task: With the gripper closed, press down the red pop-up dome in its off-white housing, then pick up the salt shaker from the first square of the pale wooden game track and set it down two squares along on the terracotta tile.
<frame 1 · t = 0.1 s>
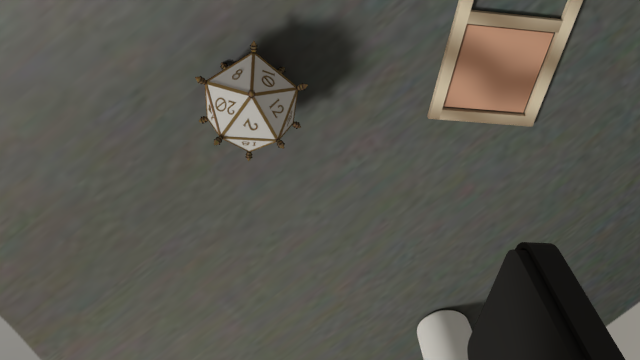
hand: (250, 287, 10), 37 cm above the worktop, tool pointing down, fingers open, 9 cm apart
game die: (252, 80, 48), on the worktop
can: (441, 323, 69), on the worktop
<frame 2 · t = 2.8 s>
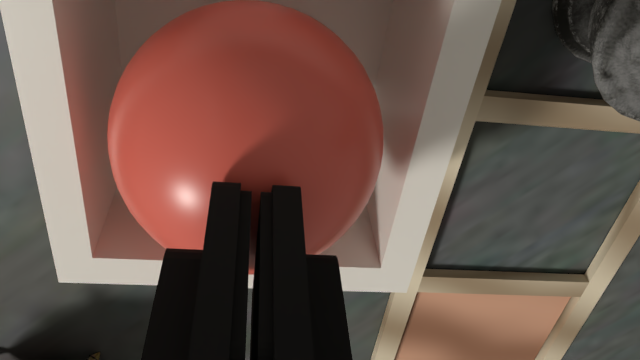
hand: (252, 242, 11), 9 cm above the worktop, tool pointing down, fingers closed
dome housing: (253, 41, 18), on the worktop
game track: (534, 204, 23), on the worktop
pop dome: (249, 139, 13), point 6 cm above the worktop, slide at 0.2 cm, touching gripper
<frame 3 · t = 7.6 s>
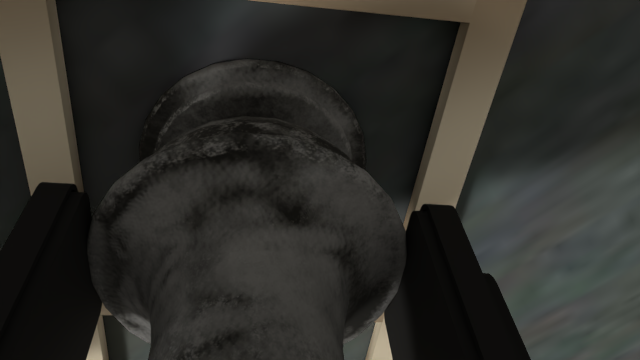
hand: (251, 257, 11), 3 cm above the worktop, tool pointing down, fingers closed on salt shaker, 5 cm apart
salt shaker: (255, 158, 13), resting in game track, touching gripper
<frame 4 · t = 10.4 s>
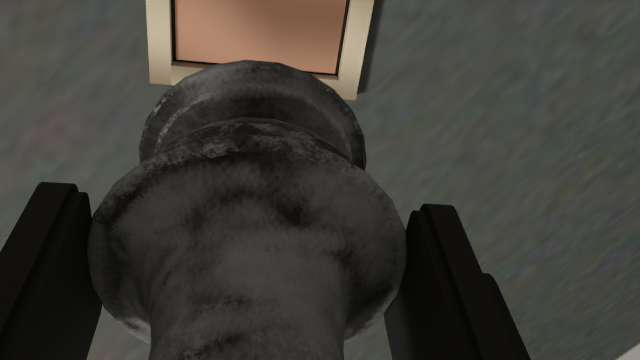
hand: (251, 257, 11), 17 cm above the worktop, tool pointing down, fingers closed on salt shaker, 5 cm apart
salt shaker: (255, 159, 13), point 14 cm above the worktop, touching gripper
when the fingers open (5 cm above the worktop, at t = 13.2 s): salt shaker drops 1 cm, resting on game track.
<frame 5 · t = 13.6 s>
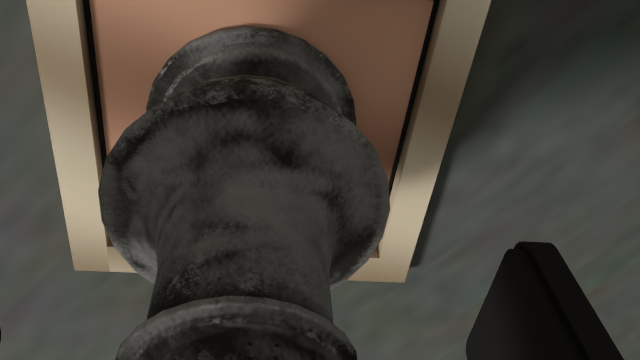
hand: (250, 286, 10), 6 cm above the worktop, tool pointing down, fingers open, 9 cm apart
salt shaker: (253, 121, 14), resting on game track
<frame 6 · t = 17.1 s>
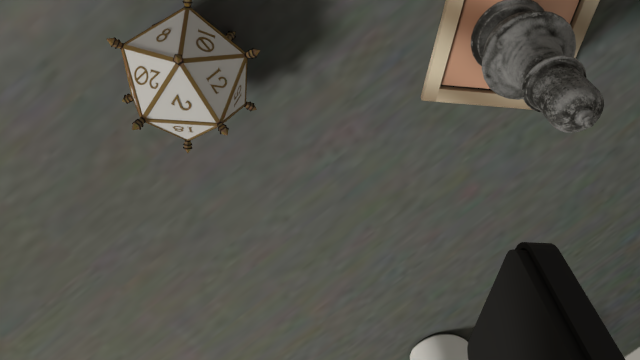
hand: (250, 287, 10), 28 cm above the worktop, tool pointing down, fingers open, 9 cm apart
game die: (194, 49, 37), on the worktop
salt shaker: (508, 35, 38), resting on game track
can: (438, 349, 58), on the worktop
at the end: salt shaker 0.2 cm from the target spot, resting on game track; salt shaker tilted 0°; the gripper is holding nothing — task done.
